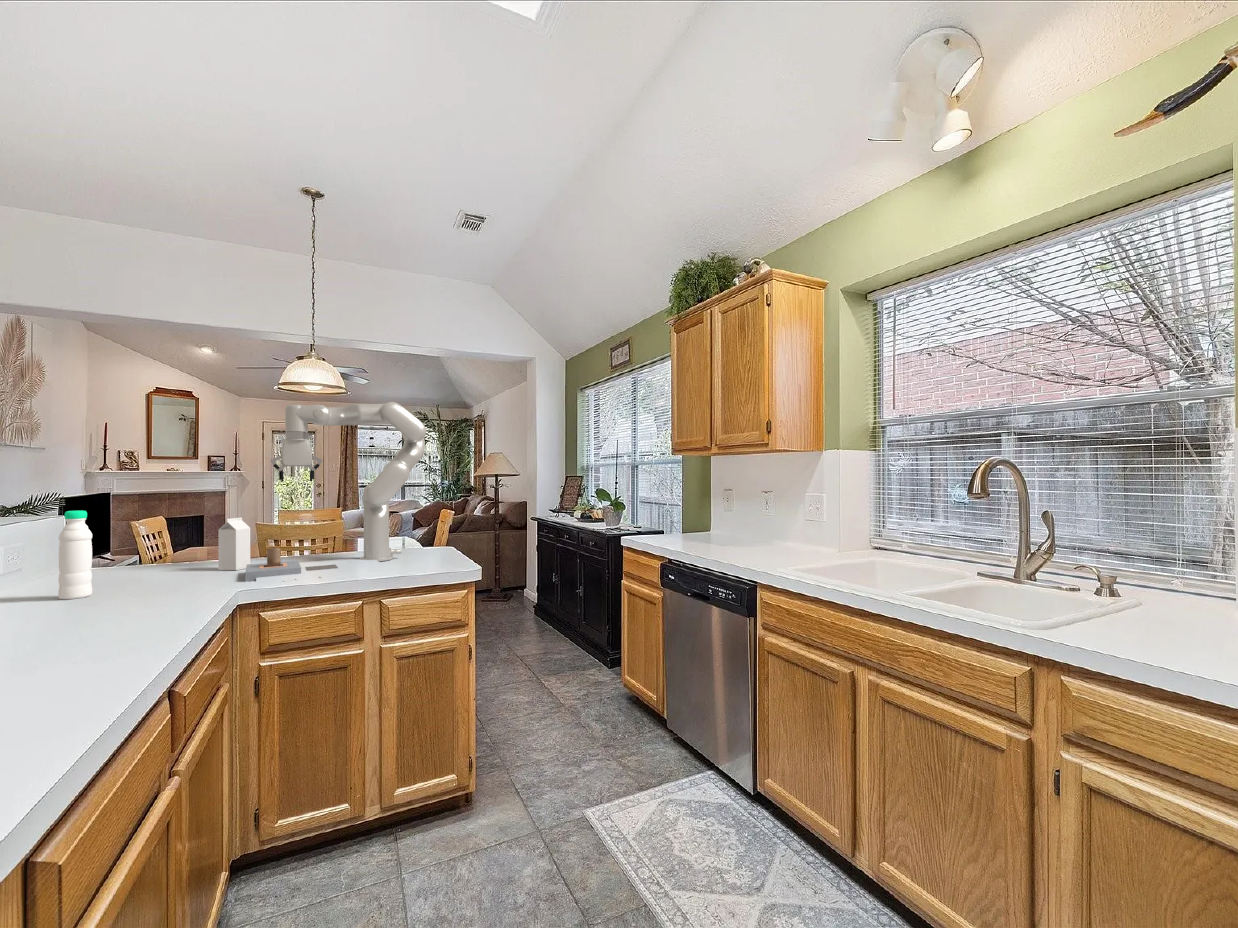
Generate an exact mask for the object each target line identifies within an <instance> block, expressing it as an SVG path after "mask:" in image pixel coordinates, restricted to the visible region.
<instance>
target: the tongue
mask: <svg viewBox="0 0 1238 928" xmlns="http://www.w3.org/2000/svg"><path fill="white" fill-rule="evenodd" d="M304 567H305V570H306V571H307V572H311V571H321V570H332V569H335V570H336V569H339V567H338V566H337V564H326V565H314V566H304Z"/></svg>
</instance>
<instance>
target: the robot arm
mask: <svg viewBox="0 0 1238 928" xmlns="http://www.w3.org/2000/svg"><path fill="white" fill-rule="evenodd" d="M284 412H285V413H284V414H285V418H284V419H285V430H284V431H285V435H284V437H285V438H284V440H282V445H281V455H278V456H276V457H274V458H272V459H270V460H269V461H270V463H271V464H272V466H273V467H274V469H276V470H277V471H278V480H279V481H280V482H281V483H284V481H285V480H284V475H285V474H284V473H285V472H284V470H285V468H286V467H307V468H309V469H310V471H309V482H313V480H314V479H315V471H316V470H317V469H319V468H320V466H321V464H322V462H323V459H321V458H318V457H317V456H316V455H315V456H314V455H313V453H312V445H311V441H310V440H309V439H311V438H313V434H311V433H309V423H311V424H313V425H315V426H319V427H321V426H324V427H327V426H329V427H330V426H332V427H333V426H369V425H370V426H371V425H373V426H374V425H376V426H377V425H391V426H392V427H394V429H396V430H397V431H399V433H401V435H402V438H403V445H402V447H401V448H400V450H399V451H397V453H396V454H395V455H394V457H392V459H391V460H389V462H388V463H387V464H385V466H384V467H383V468H382V471H381V472H380V473H379V474H378V475H377V476H376V478H374V479H373V481H372V482H370V483H368V484H367V485H366V486H364V489H363V492H362V504H363V506H362V508H363V556H360V557H359V560H363V561H377V562H386V561H387V562H388V561H391V560H393V559H394V555H395V554H396V555H398V554H399V555H401V554H402V553H403V552H402V548H394V549H393V548H391V547H390V508H389V507H390V504H389V503H390V501H391V500H392V499H393V497H394V496H395V495H396V494H397V493H398V491H399V490H400V489H401V488H402V487H403V486H404V485H405V483H407V481H408V479H409V477H410V472H411V471H412V470H413V468H414V467H415V466H416V465H417V463H418V462H419V461H420V459H421V458H422V457H423V455H424V452H425V449H426V448H425V447H426V441H425V437H426V434H427V429H426V426H425V424H424V423H423V422H422V421H421V420H420V419H418V418H417V417H416V416H415V415H413V414H412V413H411V412H410V411H409V410H407V409H406V408H405V407H404V406H403V405H401V404H400V403H397V402H396V401H388V402H385V403H355V404H354V403H353V404H351V405H347V406H335V407H333V406H332V407H329V406H328V407H327V406H325V405H323V404H309V405H307V404H306V405H304V404H297V403H296V404H295V403H294V404H288V405H286V406H285V411H284ZM280 460H281V466H279V465H278V464H277V461H280ZM313 460H314V461H315V462H316V464H315V465H314V466H313V465H312V464H313V463H312V462H313Z"/></svg>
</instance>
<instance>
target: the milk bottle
mask: <svg viewBox="0 0 1238 928" xmlns="http://www.w3.org/2000/svg"><path fill="white" fill-rule="evenodd" d="M87 518H88V512H87V510H68V511H65V512H64V519H65V521H66V524H65V526H63V528H62V530H61V532H60V533H59V536H58V541H59V545H58V570H59V575H58V592H57V593H58V594H57V595H58V598H59V599H60V600H65V601H66V600H77V599H83V598H88V597H90V596H91V595H92V594H93V585H92V581H93V580H92V579H93V573H92V572H93V571H92V567H93V545H92V544H93V542H92V539H93V533H92V531H91V530H90V529H89V526H88V525H87V524H86V520H87Z"/></svg>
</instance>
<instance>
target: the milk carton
mask: <svg viewBox="0 0 1238 928" xmlns="http://www.w3.org/2000/svg"><path fill="white" fill-rule="evenodd" d="M217 536H218V550H217V551H218V558H217V559H218V561H217V563H218V571H239V570H246V566H247V564H251V527H250V526H249V525H248V524H247V523H246V522H245V521H243V517H233V518H232V517H231V518H227V519H226V522H225V523H224V524H222V526H221V527H219V529H218V535H217Z"/></svg>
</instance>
